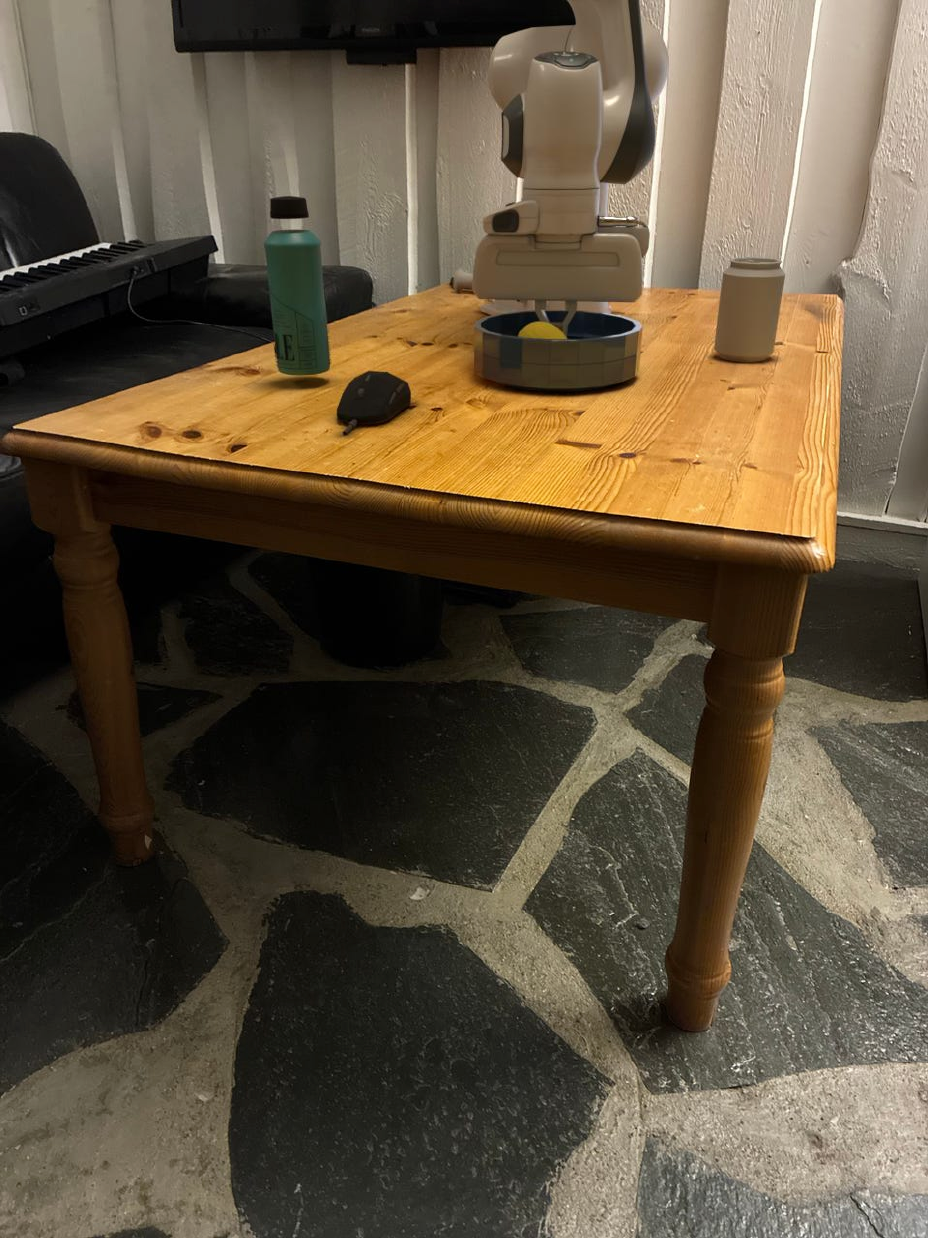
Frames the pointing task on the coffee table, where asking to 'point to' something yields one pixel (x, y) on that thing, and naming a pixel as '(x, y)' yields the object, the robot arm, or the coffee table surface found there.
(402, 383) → the gaming mouse
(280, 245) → the beverage bottle
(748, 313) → the can
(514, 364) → the bowl
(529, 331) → the lemon
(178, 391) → the coffee table surface
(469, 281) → the smooth white sculpture
